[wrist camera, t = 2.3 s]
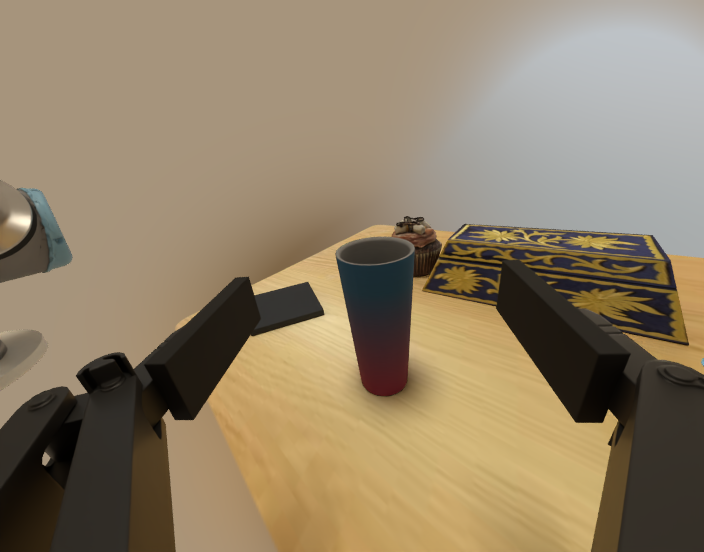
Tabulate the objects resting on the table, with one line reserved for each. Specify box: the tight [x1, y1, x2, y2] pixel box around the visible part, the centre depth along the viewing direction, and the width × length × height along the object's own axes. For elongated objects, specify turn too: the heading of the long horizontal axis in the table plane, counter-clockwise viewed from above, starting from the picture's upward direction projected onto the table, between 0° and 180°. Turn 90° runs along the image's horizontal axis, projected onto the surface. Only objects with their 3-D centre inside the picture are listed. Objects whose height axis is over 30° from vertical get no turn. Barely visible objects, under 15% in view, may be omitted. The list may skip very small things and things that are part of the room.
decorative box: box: [422, 224, 689, 345], centre depth 40 cm, size 11×30×9 cm, turn 55°
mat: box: [251, 282, 324, 336], centre depth 46 cm, size 11×11×1 cm
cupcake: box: [392, 216, 442, 276], centre depth 53 cm, size 10×10×10 cm
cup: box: [336, 237, 415, 396], centre depth 27 cm, size 7×7×15 cm
